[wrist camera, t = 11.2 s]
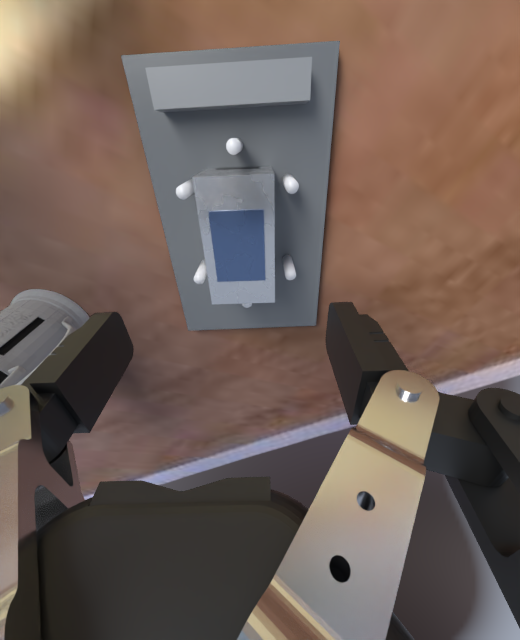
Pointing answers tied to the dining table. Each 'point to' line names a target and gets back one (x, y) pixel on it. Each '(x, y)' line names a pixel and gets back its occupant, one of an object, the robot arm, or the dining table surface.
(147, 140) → the grey tapered peg board
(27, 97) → the dining table surface
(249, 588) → the robot arm
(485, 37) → the dining table surface
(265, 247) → the block
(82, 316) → the white and black mug
